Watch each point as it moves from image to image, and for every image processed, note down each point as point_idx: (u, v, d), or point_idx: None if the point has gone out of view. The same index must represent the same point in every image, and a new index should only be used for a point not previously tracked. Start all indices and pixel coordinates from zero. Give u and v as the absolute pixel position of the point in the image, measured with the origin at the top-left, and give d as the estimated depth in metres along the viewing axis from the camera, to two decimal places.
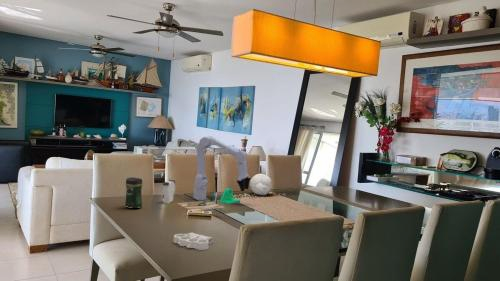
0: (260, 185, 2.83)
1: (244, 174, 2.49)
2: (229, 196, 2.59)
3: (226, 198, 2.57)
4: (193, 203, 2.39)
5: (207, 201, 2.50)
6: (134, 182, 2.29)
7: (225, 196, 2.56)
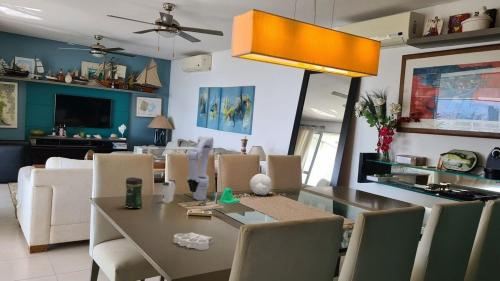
0: (260, 185, 2.83)
1: None
2: (229, 196, 2.59)
3: (226, 198, 2.57)
4: (193, 203, 2.39)
5: (207, 201, 2.50)
6: (134, 182, 2.29)
7: (225, 196, 2.56)
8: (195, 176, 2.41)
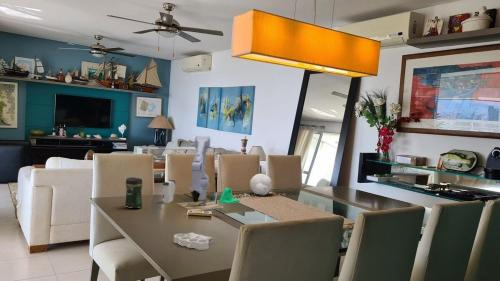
0: (260, 185, 2.83)
1: None
2: (228, 196, 2.59)
3: (225, 198, 2.57)
4: (193, 203, 2.39)
5: (207, 201, 2.50)
6: (134, 182, 2.29)
7: (224, 196, 2.56)
8: (198, 187, 2.38)
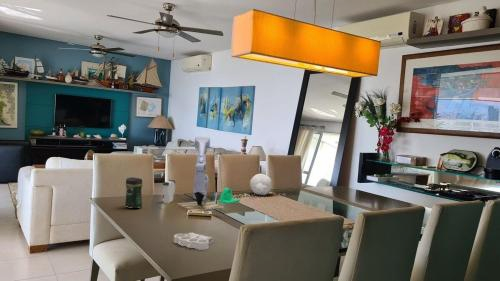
0: (260, 185, 2.83)
1: None
2: (228, 196, 2.59)
3: (225, 198, 2.57)
4: None
5: (207, 201, 2.50)
6: (134, 182, 2.29)
7: (224, 196, 2.56)
8: (201, 188, 2.34)
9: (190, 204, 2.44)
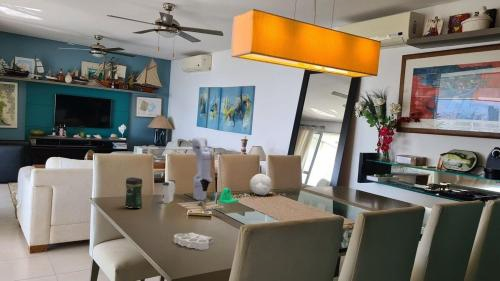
0: (260, 185, 2.83)
1: None
2: (227, 196, 2.60)
3: (224, 198, 2.57)
4: None
5: (207, 201, 2.50)
6: (134, 182, 2.29)
7: (224, 196, 2.57)
8: (207, 176, 2.45)
9: (190, 204, 2.44)
